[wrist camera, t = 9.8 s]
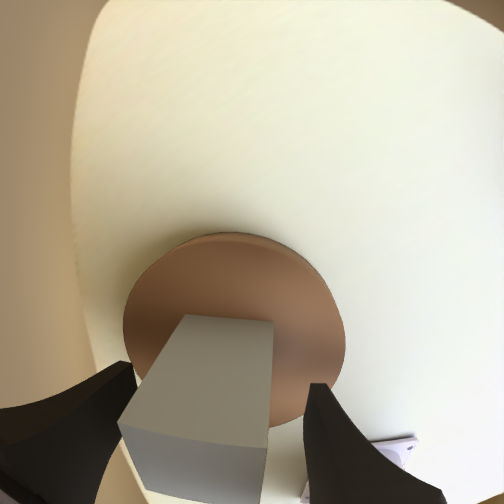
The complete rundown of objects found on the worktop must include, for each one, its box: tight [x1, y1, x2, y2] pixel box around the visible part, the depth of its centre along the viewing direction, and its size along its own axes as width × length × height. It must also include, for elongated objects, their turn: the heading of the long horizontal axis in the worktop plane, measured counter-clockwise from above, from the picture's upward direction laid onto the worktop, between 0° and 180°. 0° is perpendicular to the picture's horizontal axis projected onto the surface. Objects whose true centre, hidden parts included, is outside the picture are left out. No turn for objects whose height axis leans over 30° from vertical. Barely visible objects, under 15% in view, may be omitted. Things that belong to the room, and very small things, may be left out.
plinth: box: [123, 232, 345, 428], centre depth 14 cm, size 11×11×2 cm
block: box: [117, 314, 274, 504], centre depth 10 cm, size 4×4×7 cm
